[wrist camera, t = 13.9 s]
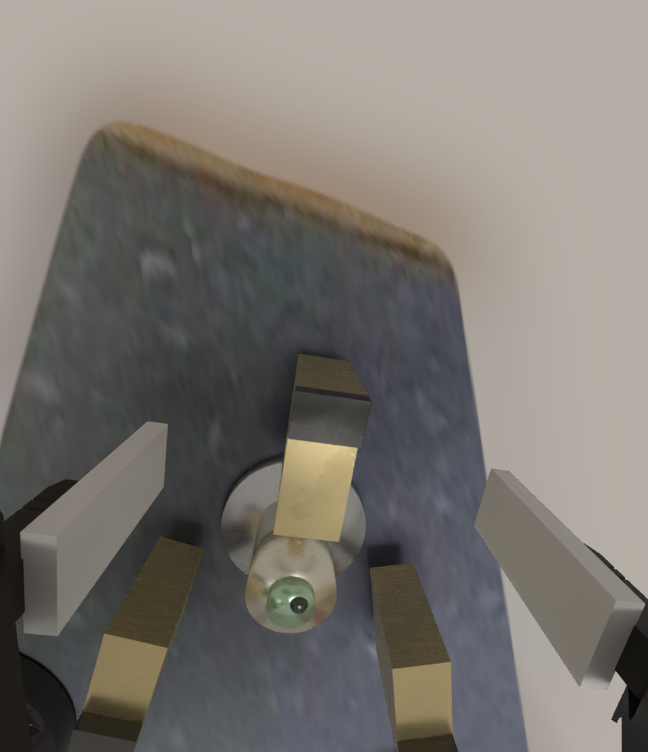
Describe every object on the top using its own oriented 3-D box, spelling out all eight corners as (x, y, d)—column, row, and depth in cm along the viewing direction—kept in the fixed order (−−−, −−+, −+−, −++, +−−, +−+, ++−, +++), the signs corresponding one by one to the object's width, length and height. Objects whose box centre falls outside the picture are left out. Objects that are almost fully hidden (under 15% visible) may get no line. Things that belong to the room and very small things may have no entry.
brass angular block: (329, 468, 24) (340, 554, 16) (282, 462, 24) (271, 546, 16) (348, 361, 22) (371, 401, 15) (298, 353, 22) (295, 390, 15)
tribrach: (165, 570, 28) (110, 684, 20) (181, 367, 24) (121, 408, 17) (396, 593, 30) (430, 707, 22) (443, 405, 26) (504, 459, 18)
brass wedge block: (369, 568, 26) (396, 685, 18) (412, 562, 26) (457, 677, 18) (376, 648, 28) (402, 786, 20) (416, 643, 28) (458, 779, 20)
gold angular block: (159, 536, 25) (95, 649, 17) (205, 548, 25) (161, 664, 17) (134, 620, 26) (64, 759, 19) (177, 631, 26) (126, 770, 19)
